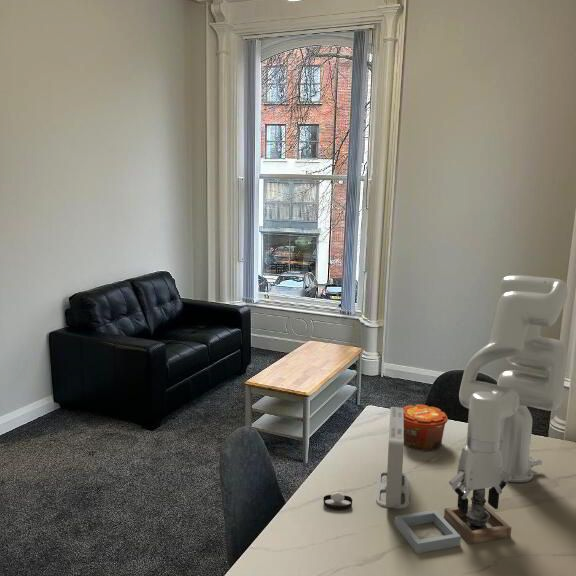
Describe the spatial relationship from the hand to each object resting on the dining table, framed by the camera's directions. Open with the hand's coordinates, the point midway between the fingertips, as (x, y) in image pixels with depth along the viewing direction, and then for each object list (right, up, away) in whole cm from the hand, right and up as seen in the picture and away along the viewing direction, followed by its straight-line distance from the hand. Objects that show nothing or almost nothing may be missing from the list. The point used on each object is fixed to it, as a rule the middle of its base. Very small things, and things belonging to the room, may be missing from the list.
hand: (477, 508), depth 137 cm
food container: (-2, +3, +48) cm, 48 cm away
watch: (-34, -4, +9) cm, 36 cm away
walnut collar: (0, -5, +1) cm, 5 cm away
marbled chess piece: (0, -5, +1) cm, 5 cm away
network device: (-18, -2, +18) cm, 25 cm away
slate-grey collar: (-14, -5, -3) cm, 15 cm away
